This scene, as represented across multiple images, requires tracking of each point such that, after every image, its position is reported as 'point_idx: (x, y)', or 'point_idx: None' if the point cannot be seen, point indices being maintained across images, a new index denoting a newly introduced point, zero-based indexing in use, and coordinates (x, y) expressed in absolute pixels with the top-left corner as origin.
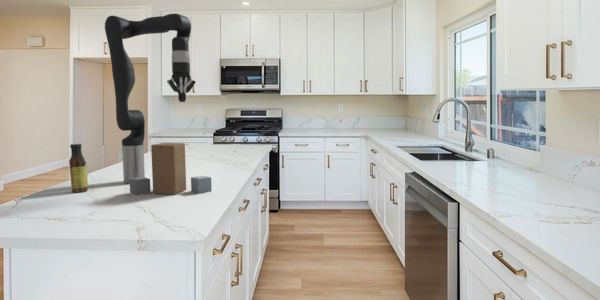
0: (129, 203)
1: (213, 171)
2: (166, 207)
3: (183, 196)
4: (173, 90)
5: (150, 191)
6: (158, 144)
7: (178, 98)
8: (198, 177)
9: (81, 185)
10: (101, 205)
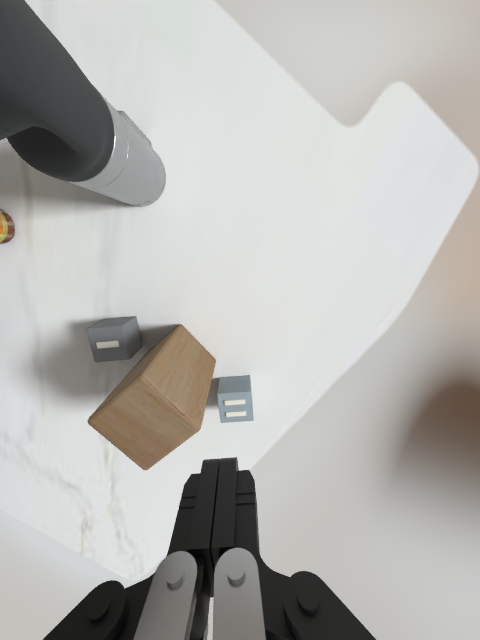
0: (91, 403)
1: (407, 143)
2: None
3: None
4: (73, 609)
5: (140, 347)
6: (109, 424)
7: (182, 496)
8: (226, 413)
9: None
10: (45, 390)
